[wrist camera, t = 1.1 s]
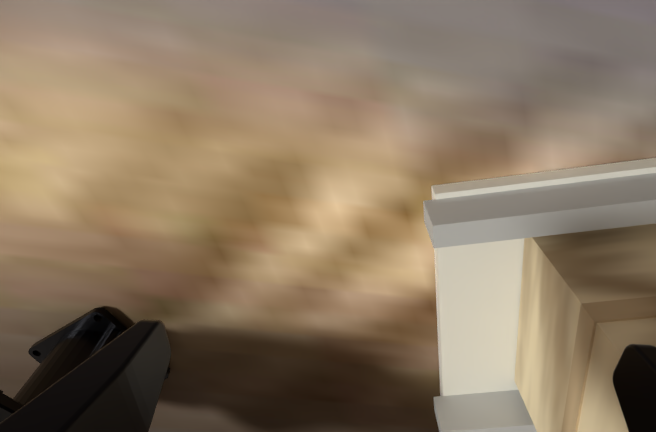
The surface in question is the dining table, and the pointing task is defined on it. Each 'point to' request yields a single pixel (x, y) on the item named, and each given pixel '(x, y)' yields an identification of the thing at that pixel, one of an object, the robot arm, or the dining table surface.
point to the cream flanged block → (582, 323)
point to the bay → (509, 273)
